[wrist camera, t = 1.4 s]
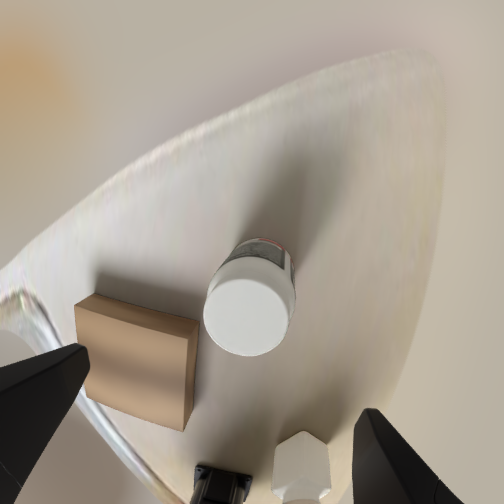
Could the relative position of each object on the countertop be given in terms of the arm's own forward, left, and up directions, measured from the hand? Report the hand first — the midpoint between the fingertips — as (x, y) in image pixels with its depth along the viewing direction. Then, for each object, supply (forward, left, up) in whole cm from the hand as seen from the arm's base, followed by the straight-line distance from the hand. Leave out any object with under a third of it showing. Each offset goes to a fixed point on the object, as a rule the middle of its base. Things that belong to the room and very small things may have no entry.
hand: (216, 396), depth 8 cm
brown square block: (-10, +9, -14) cm, 19 cm away
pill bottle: (0, 0, -14) cm, 14 cm away
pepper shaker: (-17, -7, -14) cm, 23 cm away
